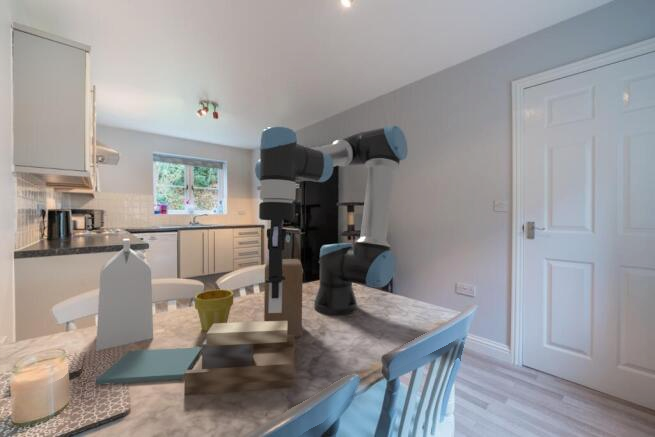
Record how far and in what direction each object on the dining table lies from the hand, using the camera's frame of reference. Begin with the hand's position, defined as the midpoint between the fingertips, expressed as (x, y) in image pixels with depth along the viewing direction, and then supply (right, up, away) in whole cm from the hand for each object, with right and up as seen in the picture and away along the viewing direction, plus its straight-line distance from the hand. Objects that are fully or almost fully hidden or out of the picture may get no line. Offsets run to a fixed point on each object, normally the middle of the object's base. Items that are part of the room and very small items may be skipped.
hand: (275, 311), depth 57 cm
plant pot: (-22, -12, +21) cm, 32 cm away
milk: (-43, -12, +15) cm, 47 cm away
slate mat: (-26, -12, 0) cm, 29 cm away
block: (-1, -12, +18) cm, 22 cm away
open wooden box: (-6, -12, 0) cm, 14 cm away
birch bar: (-5, -6, 0) cm, 8 cm away
